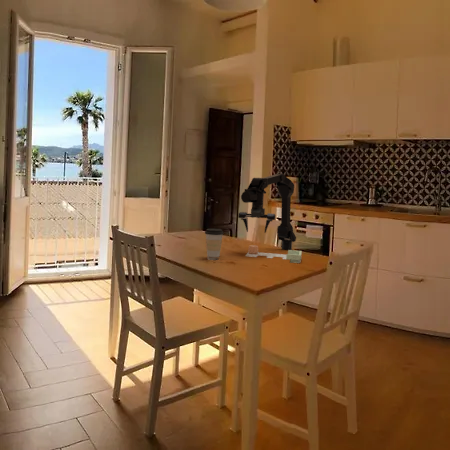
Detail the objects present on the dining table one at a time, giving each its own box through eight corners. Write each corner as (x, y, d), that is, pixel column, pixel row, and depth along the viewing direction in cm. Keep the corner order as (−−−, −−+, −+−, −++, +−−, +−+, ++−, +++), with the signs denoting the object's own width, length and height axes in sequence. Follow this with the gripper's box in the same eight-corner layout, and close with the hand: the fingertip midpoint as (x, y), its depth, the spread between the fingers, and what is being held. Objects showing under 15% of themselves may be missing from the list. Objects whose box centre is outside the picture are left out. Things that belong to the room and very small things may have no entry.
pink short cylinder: (249, 252, 247) (249, 244, 247) (258, 253, 246) (258, 245, 246) (247, 253, 242) (248, 246, 242) (257, 254, 242) (257, 247, 241)
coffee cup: (206, 261, 227) (207, 230, 225) (202, 257, 236) (203, 228, 234) (224, 260, 230) (226, 230, 228) (220, 257, 239) (221, 228, 237)
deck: (248, 254, 249) (248, 247, 249) (301, 258, 244) (301, 251, 243) (244, 258, 236) (245, 251, 236) (300, 263, 231) (300, 255, 231)
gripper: (237, 202, 232) (236, 233, 234) (274, 204, 229) (273, 235, 231) (240, 201, 243) (239, 230, 245) (276, 202, 240) (274, 232, 242)
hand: (256, 232), depth 240 cm, fingers open, 9 cm apart
